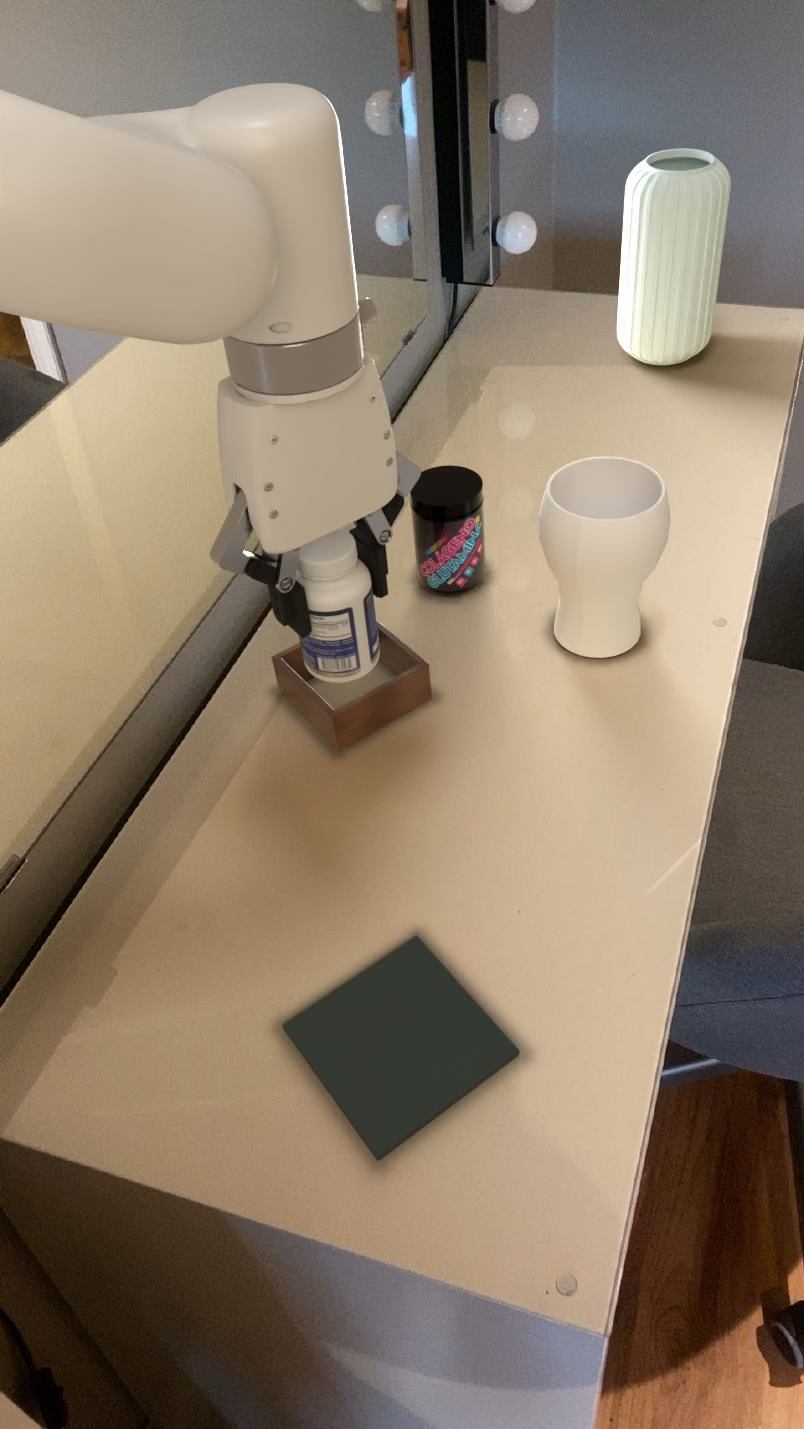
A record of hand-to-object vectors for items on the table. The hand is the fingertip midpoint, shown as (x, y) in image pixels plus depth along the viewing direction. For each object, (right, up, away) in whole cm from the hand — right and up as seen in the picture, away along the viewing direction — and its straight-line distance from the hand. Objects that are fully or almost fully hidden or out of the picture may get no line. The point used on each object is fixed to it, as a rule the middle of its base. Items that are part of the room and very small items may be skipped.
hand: (333, 604), depth 70 cm
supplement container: (+9, +6, +32) cm, 34 cm away
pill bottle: (0, -4, +4) cm, 5 cm away
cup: (+22, 0, +25) cm, 33 cm away
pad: (+4, -28, -2) cm, 29 cm away
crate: (0, -6, +21) cm, 22 cm away
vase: (+37, +38, +61) cm, 81 cm away
